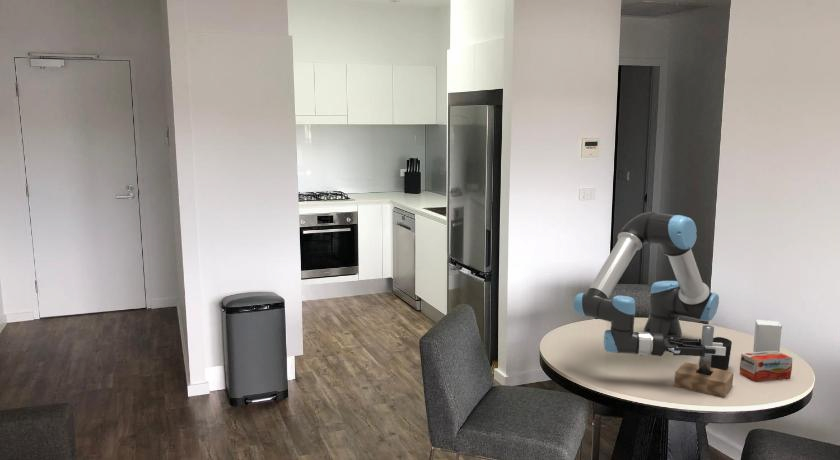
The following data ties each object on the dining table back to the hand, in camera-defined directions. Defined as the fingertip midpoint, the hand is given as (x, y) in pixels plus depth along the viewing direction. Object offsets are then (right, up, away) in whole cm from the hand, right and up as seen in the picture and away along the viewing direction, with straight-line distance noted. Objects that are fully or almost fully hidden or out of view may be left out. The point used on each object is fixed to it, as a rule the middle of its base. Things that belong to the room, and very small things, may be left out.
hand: (723, 349), depth 229 cm
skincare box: (+27, -10, +27) cm, 40 cm away
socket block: (-6, -13, +3) cm, 15 cm away
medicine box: (+20, -12, +13) cm, 27 cm away
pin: (-6, -10, +3) cm, 12 cm away
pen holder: (+7, -10, +22) cm, 25 cm away
